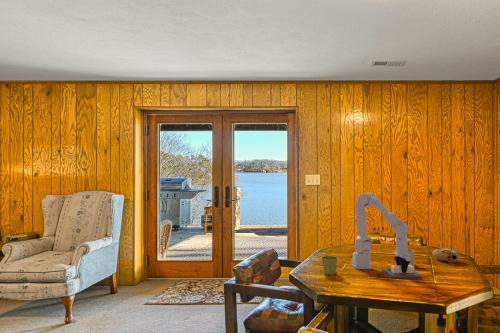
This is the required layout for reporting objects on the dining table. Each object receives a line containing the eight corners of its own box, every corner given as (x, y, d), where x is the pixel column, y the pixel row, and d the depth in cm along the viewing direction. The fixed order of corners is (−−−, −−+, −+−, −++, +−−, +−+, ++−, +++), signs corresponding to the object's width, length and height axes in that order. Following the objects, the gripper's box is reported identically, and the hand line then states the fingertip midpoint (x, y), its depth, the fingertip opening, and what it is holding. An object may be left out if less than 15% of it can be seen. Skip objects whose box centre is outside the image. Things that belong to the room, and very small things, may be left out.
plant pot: (329, 277, 181) (328, 260, 181) (317, 272, 189) (317, 257, 189) (342, 274, 185) (342, 258, 185) (330, 270, 194) (330, 255, 194)
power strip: (394, 276, 181) (394, 266, 181) (391, 274, 185) (390, 264, 185) (414, 276, 181) (414, 266, 182) (410, 274, 185) (410, 264, 185)
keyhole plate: (391, 278, 178) (391, 275, 178) (381, 271, 190) (381, 268, 190) (421, 277, 179) (421, 274, 179) (409, 271, 191) (409, 268, 191)
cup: (412, 267, 198) (411, 252, 198) (394, 264, 205) (394, 249, 205) (415, 265, 203) (415, 250, 204) (398, 262, 210) (398, 247, 210)
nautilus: (462, 268, 197) (433, 267, 204) (458, 258, 216) (432, 257, 223) (461, 255, 197) (432, 254, 204) (457, 246, 216) (431, 245, 223)
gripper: (416, 248, 176) (416, 275, 176) (402, 243, 191) (402, 267, 190) (402, 249, 176) (403, 275, 176) (390, 243, 191) (390, 267, 190)
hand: (402, 271), depth 183 cm, fingers closed on power strip, 4 cm apart
